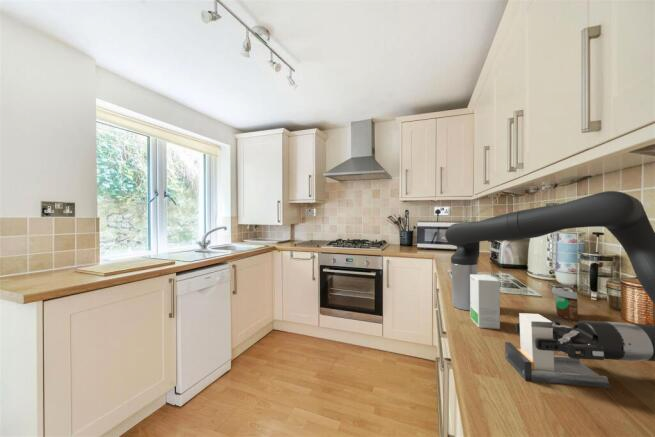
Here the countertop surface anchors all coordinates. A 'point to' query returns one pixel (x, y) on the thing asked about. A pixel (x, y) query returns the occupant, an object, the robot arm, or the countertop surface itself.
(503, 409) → the countertop surface
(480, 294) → the skincare box
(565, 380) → the dark grey open tray
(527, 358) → the orange rectangular bar
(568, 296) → the food container
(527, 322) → the block
